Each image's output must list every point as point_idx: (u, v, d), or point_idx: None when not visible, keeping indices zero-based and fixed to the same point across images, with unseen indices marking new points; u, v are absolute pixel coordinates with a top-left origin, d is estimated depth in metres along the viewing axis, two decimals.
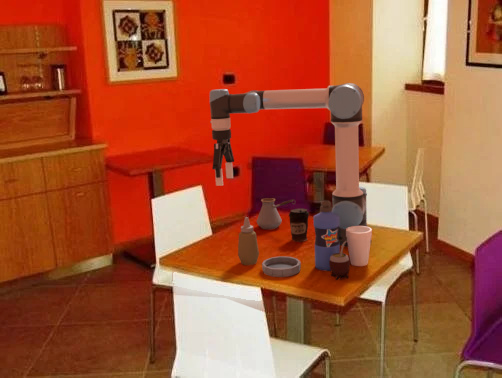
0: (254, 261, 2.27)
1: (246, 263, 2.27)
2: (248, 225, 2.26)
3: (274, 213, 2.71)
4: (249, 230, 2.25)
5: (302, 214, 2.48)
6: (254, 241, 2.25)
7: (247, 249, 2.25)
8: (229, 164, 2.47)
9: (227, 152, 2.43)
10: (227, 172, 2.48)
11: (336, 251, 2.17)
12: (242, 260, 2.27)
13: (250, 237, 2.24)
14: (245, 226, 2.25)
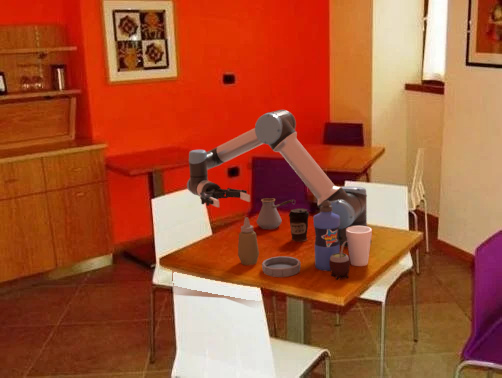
0: (254, 261, 2.27)
1: (246, 263, 2.27)
2: (248, 225, 2.26)
3: (274, 213, 2.71)
4: (249, 230, 2.25)
5: (302, 214, 2.48)
6: (254, 241, 2.25)
7: (247, 249, 2.25)
8: (241, 194, 2.41)
9: (228, 192, 2.44)
10: (245, 199, 2.38)
11: (336, 251, 2.17)
12: (242, 260, 2.27)
13: (250, 237, 2.24)
14: (245, 226, 2.25)
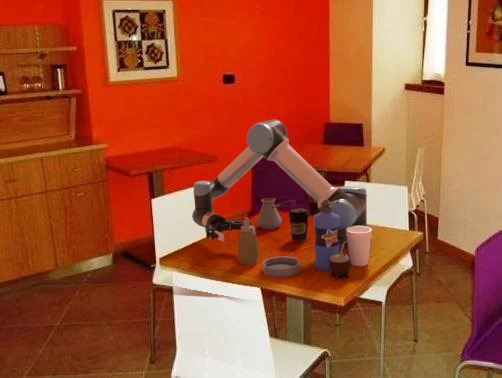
0: (254, 261, 2.27)
1: (246, 263, 2.27)
2: (248, 225, 2.26)
3: (274, 213, 2.71)
4: (249, 230, 2.25)
5: (302, 214, 2.48)
6: (254, 241, 2.25)
7: (247, 249, 2.25)
8: None
9: (233, 224, 2.44)
10: None
11: (336, 251, 2.17)
12: (242, 260, 2.27)
13: (250, 237, 2.24)
14: (245, 226, 2.25)
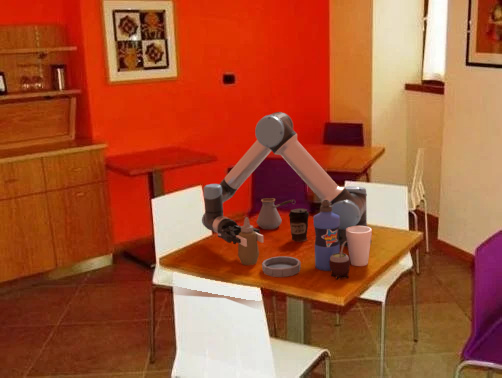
0: (254, 261, 2.27)
1: (246, 263, 2.27)
2: (248, 225, 2.26)
3: (274, 213, 2.71)
4: (249, 230, 2.25)
5: (302, 214, 2.48)
6: (254, 241, 2.25)
7: (247, 249, 2.25)
8: None
9: None
10: (258, 239, 2.27)
11: (336, 251, 2.17)
12: (242, 260, 2.27)
13: (250, 237, 2.24)
14: (245, 226, 2.25)
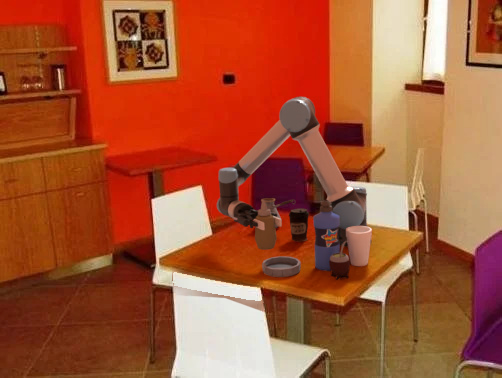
0: (272, 246, 2.19)
1: (263, 248, 2.19)
2: (265, 208, 2.18)
3: None
4: (266, 213, 2.17)
5: (302, 214, 2.48)
6: (272, 225, 2.18)
7: (265, 233, 2.17)
8: None
9: None
10: (276, 223, 2.19)
11: (336, 251, 2.17)
12: (259, 244, 2.19)
13: (268, 220, 2.17)
14: (262, 209, 2.18)
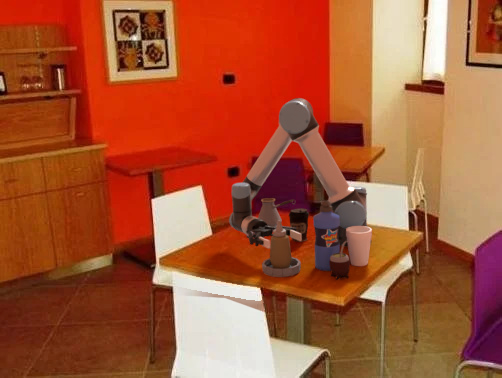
0: (287, 266, 2.18)
1: (279, 268, 2.17)
2: (281, 229, 2.16)
3: (274, 213, 2.71)
4: (282, 234, 2.15)
5: (302, 214, 2.48)
6: (287, 245, 2.16)
7: (280, 253, 2.15)
8: (290, 233, 2.23)
9: None
10: (296, 238, 2.20)
11: (336, 251, 2.17)
12: (274, 265, 2.17)
13: (283, 241, 2.15)
14: (278, 230, 2.16)
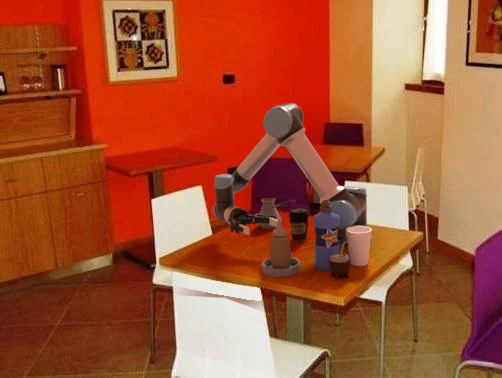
0: (287, 266, 2.18)
1: (279, 268, 2.17)
2: (281, 229, 2.16)
3: (274, 213, 2.71)
4: (282, 234, 2.15)
5: (302, 214, 2.48)
6: (287, 245, 2.16)
7: (281, 253, 2.15)
8: (270, 220, 2.35)
9: (256, 218, 2.38)
10: (275, 225, 2.33)
11: (336, 251, 2.17)
12: (275, 265, 2.17)
13: (283, 241, 2.15)
14: (278, 230, 2.16)
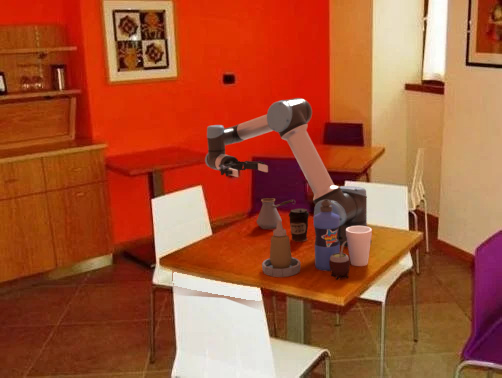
0: (287, 266, 2.18)
1: (279, 268, 2.17)
2: (281, 229, 2.16)
3: (274, 213, 2.71)
4: (282, 234, 2.15)
5: (302, 214, 2.48)
6: (287, 245, 2.16)
7: (281, 253, 2.15)
8: (258, 166, 2.48)
9: (246, 164, 2.51)
10: (263, 169, 2.45)
11: (336, 251, 2.17)
12: (275, 265, 2.17)
13: (283, 241, 2.15)
14: (278, 230, 2.16)
